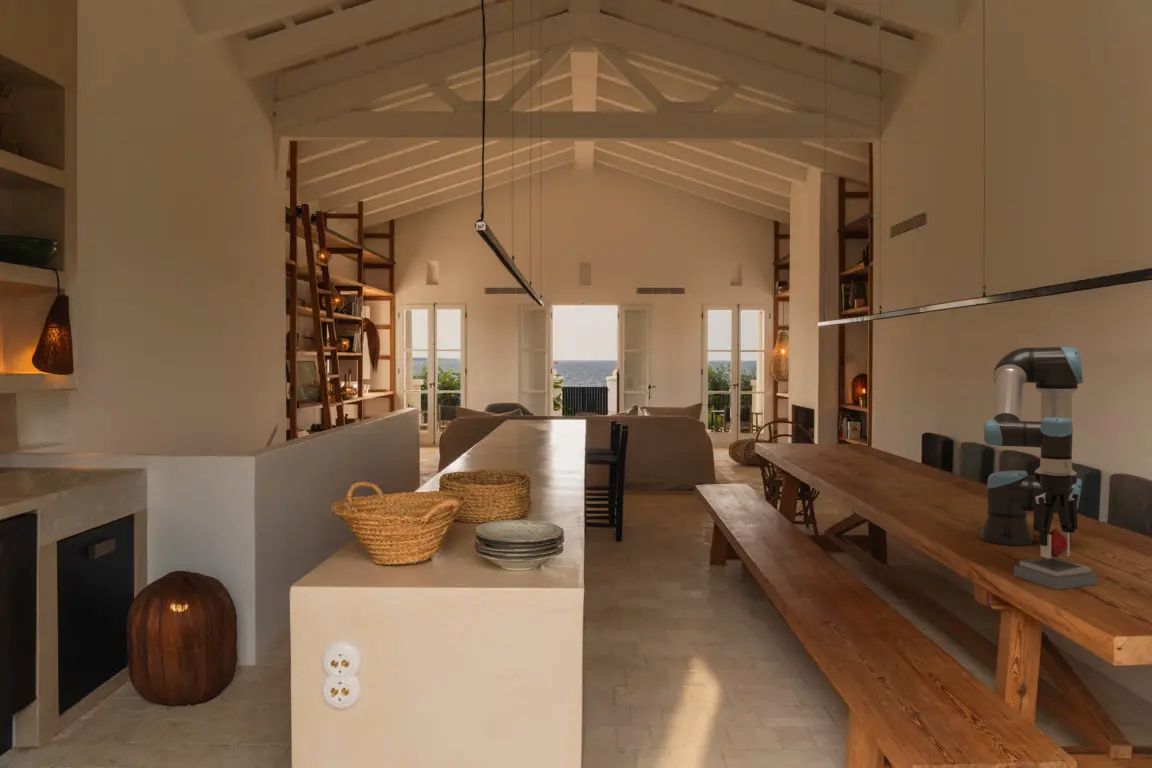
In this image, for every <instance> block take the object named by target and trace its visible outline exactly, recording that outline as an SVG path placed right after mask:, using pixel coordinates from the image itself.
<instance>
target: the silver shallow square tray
mask: <svg viewBox="0 0 1152 768" xmlns="http://www.w3.org/2000/svg"><path fill="white" fill-rule="evenodd" d="M1013 576H1014V577H1016V576H1018V577H1017V578H1019V577H1020V578H1019V579H1022V578H1023V579H1022V580H1025V579H1026V581H1028V580H1029V582H1032V583H1034V584H1038V585H1041V586H1043V587H1047V588H1051V589H1053V590H1057V591H1058V590H1066V589H1067V590H1068V589H1074V588H1081V587H1089V586H1090V587H1091V586H1097V585H1098V573H1095V572H1092V567H1090V566H1087V565H1083V564H1079V563H1075V562H1073V561H1068V560H1065V559H1061V558H1059V557H1058V558H1057V557H1054V556H1051V558H1046V557H1042V558H1031V559H1026V560H1025V559H1024V560H1019V564H1015V565H1014V566H1013Z"/></svg>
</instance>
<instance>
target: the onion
mask: <svg viewBox="0 0 1152 768" xmlns="http://www.w3.org/2000/svg"><path fill="white" fill-rule="evenodd" d="M1049 534H1050V535H1051V557H1055V558H1057V557H1058V558H1059V556H1060V555H1061V554H1062V553H1063V552H1065V551H1066V549H1067V541H1066V539H1065V537H1064V536H1063V535H1062V534H1060V533H1059V529H1058V528H1054V529H1053V530H1051V531H1049Z"/></svg>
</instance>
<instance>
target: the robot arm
mask: <svg viewBox="0 0 1152 768" xmlns="http://www.w3.org/2000/svg"><path fill="white" fill-rule="evenodd" d="M992 374H993V375H992V381H993V383H994V384H995V388H994V389H995V391H994V399H993V400H994V403H993V413H992V419H989V420H985V421H984V424H983V425H984V427H983V442H984V443H985V445H989V446H997V447H1022V448H1023V447H1024V448H1040V452H1039V453H1040V460H1039V462H1040V463H1039V465H1040V466H1039V467H1038V468H1036V469H1035V470H1034V475H1029V474H1028V472H1027V471H1026V470H1002V471H995V472H993V473H990V475H989V476H988V479H987V485H986V489H987V515H986V520H985V522H984V525H983V528H982V529H981V532H980V533H981V539H982V540H984V542H985V541H986V542H989V543H993V544H996V545H997V544H998V545H1005V546H1027V545H1028V546H1029V545H1032V544H1033V541H1034V539H1033V536H1034V535H1033V534H1032V533H1031V528H1030V524H1029V522H1028V516H1027V515H1028V512H1033V524H1032V530H1033V531H1034V532H1036V533H1038V534H1039V545H1040V557H1042V558H1051V557H1052V555H1051V535H1050V534H1049V533H1050V529H1051V525H1052V523H1053V522H1052V521H1053V518H1054V514H1057V516H1058V520H1059V523H1060V527H1061V530H1058V532H1059V533H1060V534H1062V535H1063V536H1064V537H1065V539H1066V541H1067V549H1066V551H1065V552H1063V553H1062V554H1060V555H1062V556H1065V557H1070V554H1071V553H1070V545H1071V541H1072V534H1075V532H1076V530H1078V508H1079V503H1080V497H1081V491H1082V482H1083V481H1082V479H1081V478H1079V477H1078V478H1077V472H1076V471H1074V469H1073V434H1074V433H1073V432H1074V428H1073V420H1072V417H1073V416H1072V415H1073V409H1072V408H1073V407H1072V406H1073V405H1072V404H1073V394H1074V393H1075V392H1076V391H1077V390H1078V384H1079V385H1080V384H1083V383H1084V377H1083V376H1084V375H1083V368H1082V361H1081V357H1080V351H1079V350H1078V349H1077V348H1076V347H1072V346H1071V347H1070V346H1069V347H1068V346H1053V347H1052V346H1050V347H1049V346H1045V347H1042V346H1041V347H1020V348H1016V349H1014V350H1012V351H1010V352H1009V353H1006V355H1004V356H1003V357H1002V358H1001V359H1000V360H998V362H997V364H996V365H995V366H994V370H993V373H992ZM1027 383H1028V384H1035V389H1036V391H1038V392H1039V393H1040V421H1033V420H1032V421H1031V420H1030V421H1027V420H1022V403H1023V386H1024V385H1025V384H1027Z"/></svg>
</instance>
